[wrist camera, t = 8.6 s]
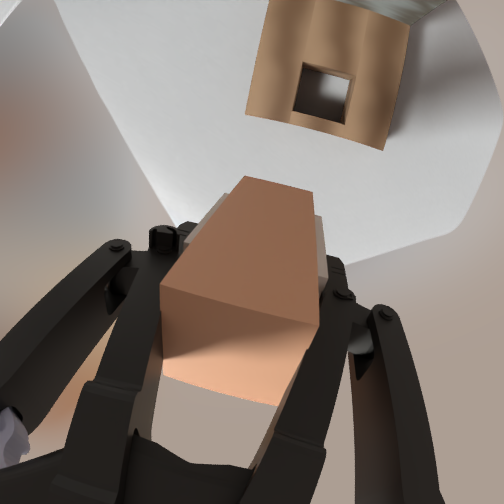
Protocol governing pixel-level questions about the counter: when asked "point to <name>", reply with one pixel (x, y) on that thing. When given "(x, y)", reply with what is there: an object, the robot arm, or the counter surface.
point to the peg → (244, 294)
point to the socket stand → (335, 61)
